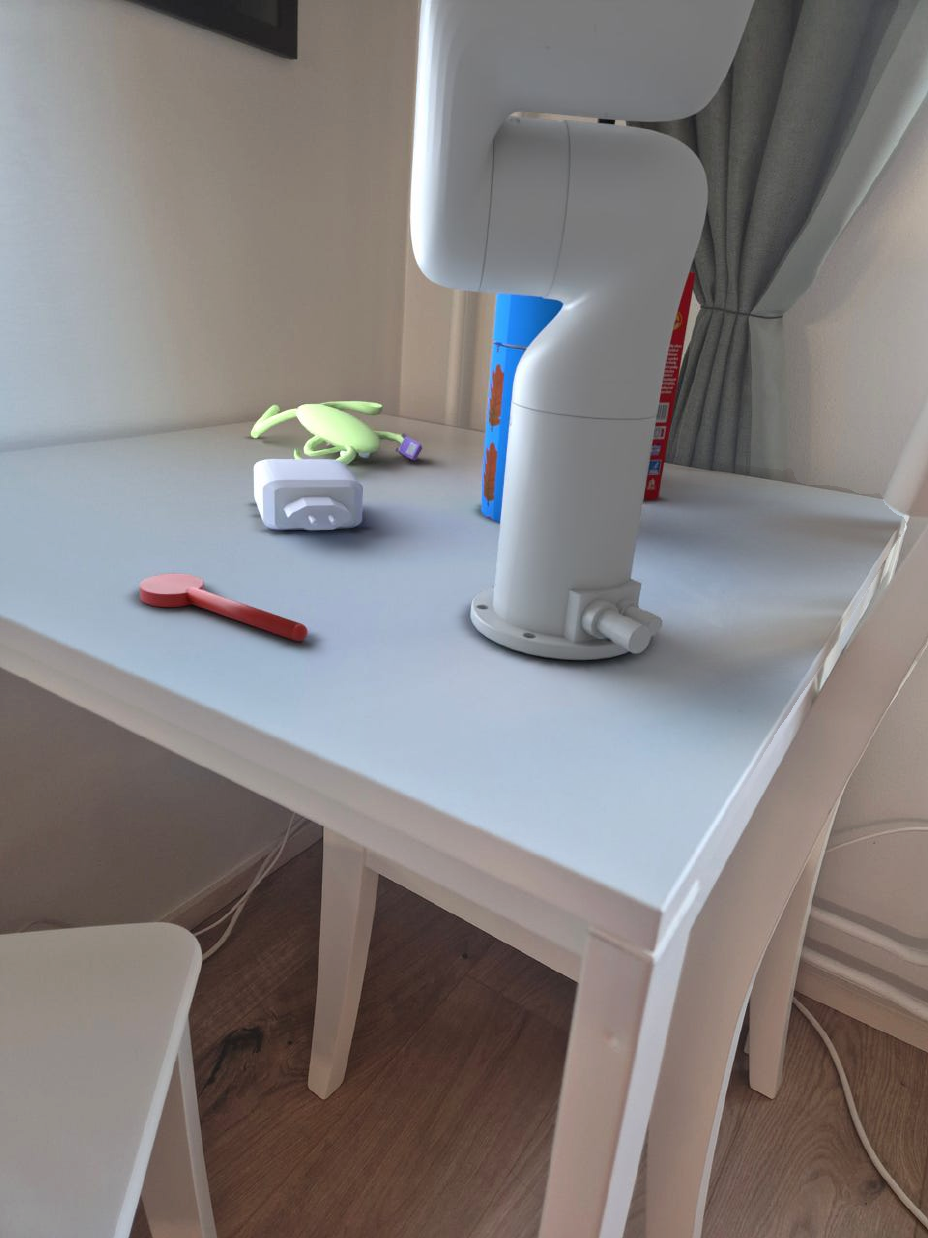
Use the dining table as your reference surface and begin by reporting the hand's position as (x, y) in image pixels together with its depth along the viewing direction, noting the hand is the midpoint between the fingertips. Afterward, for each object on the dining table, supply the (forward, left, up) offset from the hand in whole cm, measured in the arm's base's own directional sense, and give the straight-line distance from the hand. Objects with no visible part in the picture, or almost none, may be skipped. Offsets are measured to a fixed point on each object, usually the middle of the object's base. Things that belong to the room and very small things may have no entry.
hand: (545, 147), depth 75 cm
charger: (+3, +21, -34) cm, 40 cm away
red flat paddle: (-14, +36, -34) cm, 51 cm away
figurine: (+34, +4, -34) cm, 49 cm away
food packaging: (+7, -20, -34) cm, 40 cm away
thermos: (-1, -2, -34) cm, 34 cm away
